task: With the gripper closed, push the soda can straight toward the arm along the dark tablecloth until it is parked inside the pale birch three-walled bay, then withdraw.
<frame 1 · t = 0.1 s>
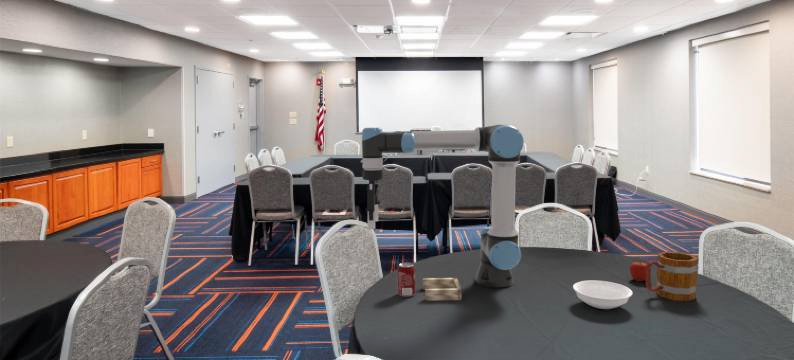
hand: (373, 224, 193), 28 cm above the table, fingers open, 13 cm apart
bowl: (601, 306, 183), on the table
soda can: (406, 295, 197), on the table
apple: (639, 280, 211), on the table
mug: (668, 296, 193), on the table
bay: (439, 293, 197), on the table
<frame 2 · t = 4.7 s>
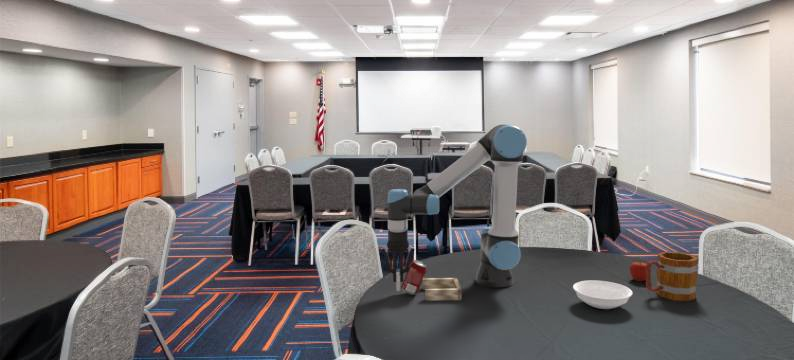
hand: (398, 289, 197), 2 cm above the table, fingers closed
soda can: (407, 291, 196), point 1 cm above the table, touching gripper
everything else where it was.
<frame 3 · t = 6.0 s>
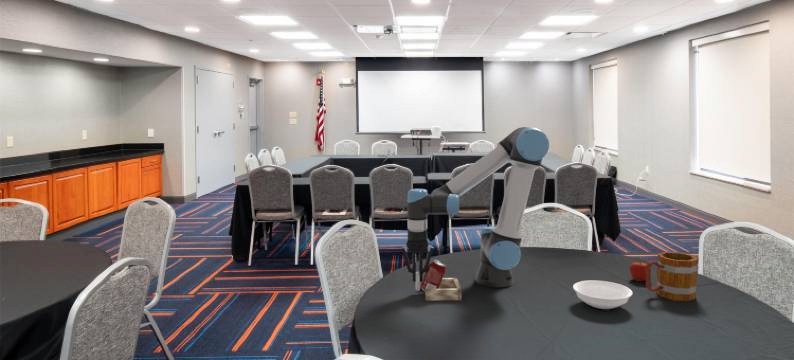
hand: (417, 289, 197), 2 cm above the table, fingers closed
soda can: (427, 291, 197), point 1 cm above the table, touching gripper
everything else where it was.
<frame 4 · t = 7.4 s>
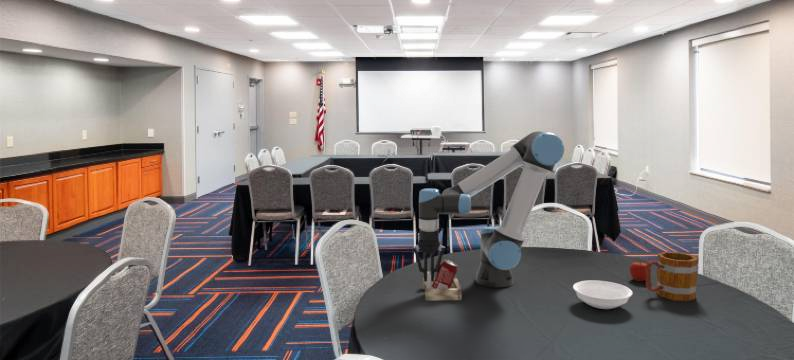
hand: (428, 289, 197), 2 cm above the table, fingers closed
soda can: (438, 291, 197), point 1 cm above the table, touching gripper
everything else where it was.
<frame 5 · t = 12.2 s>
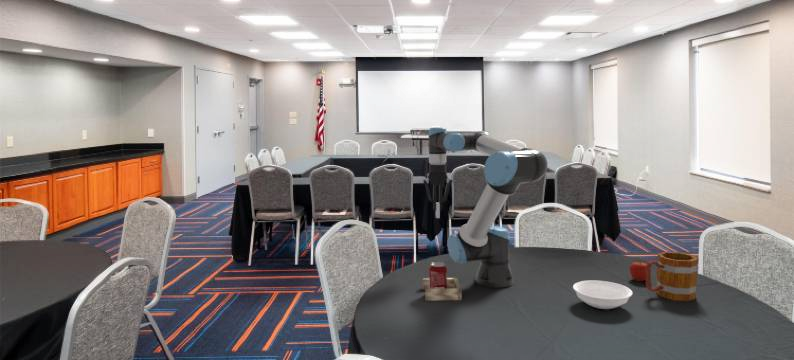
hand: (437, 217, 222), 24 cm above the table, fingers closed
soda can: (438, 294, 197), on the table
everything else where it was.
at the end: soda can inside the target area on the bay (0.5 cm from its centre), point 0.0 cm above the bay's base; soda can tilted 0° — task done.
